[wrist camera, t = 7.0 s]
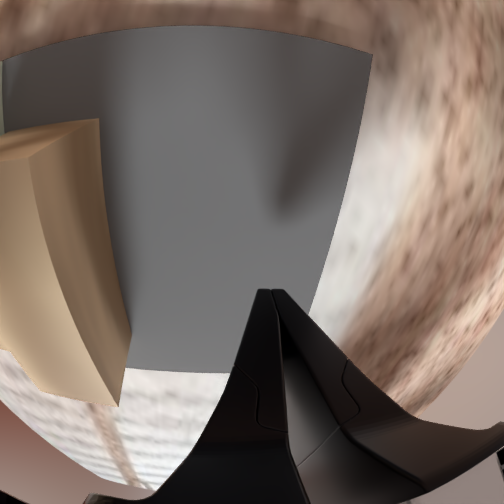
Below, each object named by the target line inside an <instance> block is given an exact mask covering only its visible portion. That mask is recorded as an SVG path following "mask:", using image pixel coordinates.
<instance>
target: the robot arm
mask: <svg viewBox="0 0 504 504" xmlns="http://www.w3.org/2000/svg"><path fill="white" fill-rule="evenodd" d="M347 359H348V357H347V356H346V355H345V354H344V353H343V352H342V351H341V350H340V349H339V348H338V347H337V346H336V344H335V343H334V342H333V341H332V340H331V339H330V338H329V337H328V336H327V335H326V334H325V333H324V332H323V331H322V329H321V328H320V327H319V326H318V325H317V324H316V323H315V322H314V321H313V320H312V319H311V318H310V317H309V316H308V314H307V313H306V312H305V311H304V310H303V309H302V308H301V307H300V306H299V305H298V304H297V303H296V302H295V300H294V299H293V298H292V297H291V296H290V295H289V294H288V293H287V292H286V291H285V290H284V289H271V290H270V289H268V288H259V289H257V292H256V295H255V298H254V301H253V305H252V308H251V311H250V314H249V317H248V321H247V324H246V327H245V330H244V333H243V336H242V339H241V343H240V346H239V349H238V352H237V355H236V358H235V361H234V364H233V367H232V370H231V373H230V376H229V379H228V382H227V384H226V387H225V390H224V392H223V394H222V396H221V398H220V400H219V402H218V404H217V406H216V408H215V410H214V412H213V414H212V416H211V417H210V419H209V421H208V423H207V425H206V427H205V428H204V430H203V432H202V434H201V436H200V438H199V439H198V441H197V443H196V444H195V446H194V447H193V449H192V450H191V452H190V453H189V455H188V456H187V457H186V458H185V460H184V461H183V462H182V463H181V464H180V465H179V466H178V468H177V469H176V470H175V471H174V472H173V473H172V474H171V475H170V477H169V478H168V479H167V480H166V481H165V482H164V483H163V484H162V485H161V486H160V487H159V489H158V490H157V491H156V492H155V493H153V494H152V495H151V496H149V497H147V498H144V499H140V500H128V499H123V498H117V497H112V496H107V495H102V494H95V493H91V494H89V495H88V496H87V498H86V499H85V501H84V503H83V504H504V447H503V446H504V422H499V423H497V424H495V425H494V426H492V427H491V428H489V429H484V430H473V429H465V428H460V427H454V426H449V425H443V424H438V423H433V422H429V421H424V420H421V419H418V418H416V417H414V416H412V415H411V414H409V413H408V412H407V411H405V410H404V409H403V408H402V407H400V406H399V405H398V404H397V403H396V402H395V401H393V400H392V399H391V398H390V397H389V396H387V395H386V394H385V393H384V392H383V391H382V390H380V389H379V388H378V387H377V386H376V385H375V384H374V383H373V382H372V381H370V380H369V379H368V378H367V377H366V376H365V375H364V374H363V373H362V372H361V371H360V370H359V369H358V368H357V367H356V366H355V365H354V364H353V363H352V361H351V360H350V359H348V360H347ZM502 447H503V448H502ZM500 448H501V449H500ZM499 449H500V450H499ZM496 451H497V452H496ZM0 504H29V503H27V502H25V501H22V500H20V499H18V498H16V497H14V496H12V495H10V494H8V493H6V492H4V491H2V490H0Z"/></svg>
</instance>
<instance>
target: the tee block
mask: <svg viewBox="0 0 504 504" xmlns="http://www.w3.org/2000/svg"><path fill="white" fill-rule="evenodd" d="M131 338H132V333H131V330H130V326H129V322H128V319H127V315H126V311H125V307H124V303H123V299H122V294H121V290H120V286H119V281H118V276H117V272H116V267H115V261H114V256H113V251H112V245H111V239H110V233H109V227H108V220H107V213H106V205H105V197H104V187H103V177H102V165H101V151H100V129H99V118H97V119H86V120H77V121H69V122H61V123H54V124H47V125H41V126H35V127H30V128H25V129H19V130H15V131H10V132H7V133H5V134H3V135H1V136H0V349H3V350H6V351H10V352H11V353H12V355H13V356H14V358H15V359H16V360H17V362H18V363H19V365H20V366H21V367H22V369H23V370H24V371H25V372H26V374H27V375H28V376H29V378H30V379H31V380H32V381H33V383H34V384H35V385H36V386H37V387H38V389H39V390H40V391H42V392H46V393H50V394H54V395H58V396H62V397H66V398H70V399H75V400H80V401H85V402H90V403H95V404H101V405H107V406H113V407H119V400H120V394H121V388H122V383H123V377H124V372H125V367H126V362H127V357H128V352H129V347H130V342H131Z"/></svg>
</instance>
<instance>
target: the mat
mask: <svg viewBox="0 0 504 504" xmlns="http://www.w3.org/2000/svg"><path fill="white" fill-rule="evenodd" d="M372 56H373V55H372V54H369V53H366V52H363V51H360V50H356V49H353V48H349V47H346V46H342V45H338V44H334V43H331V42H326V41H322V40H318V39H313V38H308V37H304V36H298V35H293V34H287V33H281V32H274V31H267V30H259V29H250V28H239V27H225V26H160V27H146V28H135V29H127V30H119V31H112V32H105V33H99V34H94V35H89V36H84V37H79V38H75V39H70V40H66V41H62V42H58V43H54V44H51V45H47V46H44V47H41V48H37V49H34V50H31V51H28V52H25V53H22V54H19V55H17V56H14V57H11V58H9V59H6V60H3V63H2V105H3V121H4V133H7V132H10V131H15V130H19V129H25V128H30V127H35V126H41V125H47V124H54V123H61V122H69V121H77V120H86V119H97V118H99V129H100V151H101V165H102V177H103V187H104V197H105V205H106V213H107V220H108V227H109V233H110V239H111V245H112V251H113V256H114V261H115V267H116V272H117V276H118V281H119V286H120V290H121V294H122V299H123V303H124V307H125V311H126V315H127V319H128V322H129V326H130V330H131V333H132V338H131V342H130V347H129V352H128V357H127V362H126V367H125V368H134V369H145V370H157V371H172V372H194V373H231V370H232V367H233V364H234V361H235V358H236V355H237V352H238V349H239V346H240V343H241V339H242V336H243V333H244V330H245V327H246V324H247V321H248V317H249V314H250V311H251V308H252V305H253V301H254V298H255V295H256V292H257V289H259V288H268V289H270V290H271V289H284V290H285V291H286V292H287V293H288V294H289V295H290V296H291V297H292V298H293V299H294V300H295V302H296V303H297V304H298V305H299V306H300V307H301V308H302V309H303V310H304V311H305V312H306V313H307V314H309V311H310V308H311V305H312V302H313V299H314V296H315V293H316V290H317V287H318V283H319V280H320V277H321V274H322V271H323V268H324V264H325V261H326V258H327V254H328V251H329V248H330V244H331V241H332V237H333V234H334V230H335V227H336V223H337V220H338V216H339V212H340V209H341V205H342V201H343V197H344V193H345V189H346V185H347V181H348V177H349V173H350V169H351V165H352V161H353V156H354V152H355V147H356V143H357V138H358V134H359V129H360V124H361V119H362V114H363V109H364V104H365V98H366V93H367V87H368V82H369V76H370V69H371V63H372Z"/></svg>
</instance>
